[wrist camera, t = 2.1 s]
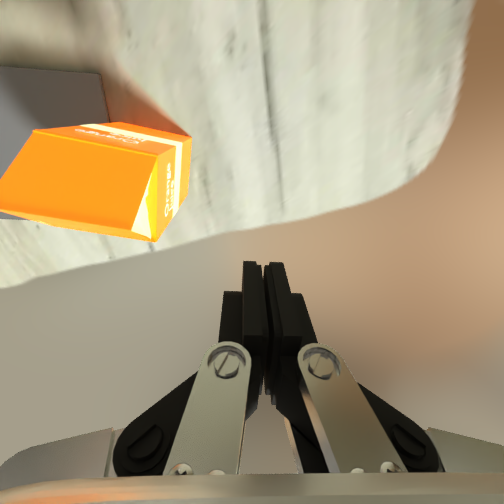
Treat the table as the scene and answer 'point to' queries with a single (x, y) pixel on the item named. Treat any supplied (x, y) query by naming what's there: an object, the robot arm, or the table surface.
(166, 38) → the table surface
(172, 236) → the table surface
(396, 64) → the table surface
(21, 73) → the mat
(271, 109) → the table surface
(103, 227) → the orange juice
